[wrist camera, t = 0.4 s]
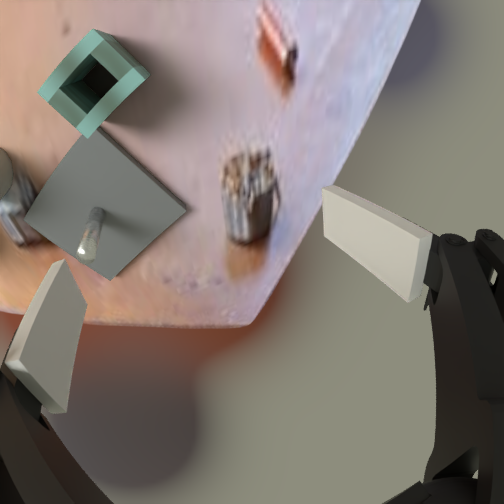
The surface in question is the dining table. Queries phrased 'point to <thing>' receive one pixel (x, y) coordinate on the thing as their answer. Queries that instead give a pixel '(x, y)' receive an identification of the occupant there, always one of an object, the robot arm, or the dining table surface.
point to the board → (103, 203)
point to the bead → (83, 97)
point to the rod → (91, 236)
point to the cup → (5, 173)
